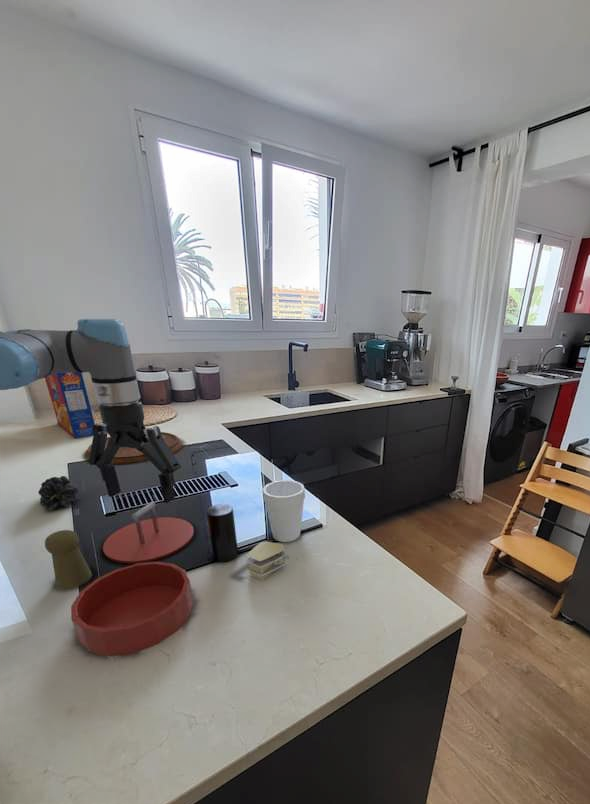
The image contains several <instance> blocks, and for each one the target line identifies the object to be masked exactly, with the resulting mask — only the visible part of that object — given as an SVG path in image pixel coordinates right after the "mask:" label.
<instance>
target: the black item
mask: <svg viewBox="0 0 590 804" xmlns="http://www.w3.org/2000/svg"><path fill="white" fill-rule="evenodd" d="M206 516H207V523H208V531H209V536H210V543H211V550H212V557H213V560H214V561H215V562H218V563H228V562H233V561H234V560H235V559H236V558H238V556H239V549H238V540H237V532H236V524H235V515H234V508H233V506H232V505H230V504H228V503H219V504H215V505H212V506H210V507H209V508H207V509H206Z"/></svg>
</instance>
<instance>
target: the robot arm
mask: <svg viewBox="0 0 590 804" xmlns="http://www.w3.org/2000/svg"><path fill="white" fill-rule="evenodd" d="M76 328H77V329H73V330H72V329H71V330H55V329H54V330H50V329H49V330H47V329H26V328H25V329H17V330H6V331H2V330H0V391H8V390H15V389H19V388H22V387H23V388H24V387H26V386H28V385H30V384H31V383H33V382H35V381H38V380H42V379H45V377H47V376H50V375H53V374H56V373H75V372H80V373H82V374H83V373H89V375H90V379H91V382H92V386H93V390H94V393H95V397H96V401H97V402H98V403H99V406H98V410H99V413H100V418H101V422H98V423H95V425H93V426H92V428H93V434H94V436H92V441H91V444H92V446H91V451H90V456H89V460H88V464H89V465H90V466H96V468H97V469H99V473H100V476H101V479H102V481H103V482H104V484H105V488H106V491H107V495H108V498H109V497H110V498H113V497H115V496H116V495H117V494H120V493H121V492H122V490H121V486H120V482H119V479H118V475H117V471H116V467H115V464H111V461H112V460H113V458H114V456H115V455H116V453H117V451H118V449H119V448H120V447H129V448H136V449H137V450H138V451H141V452H142V453H143V454H144V455H145V456H146V457H147V458H148V459H149V462H150V463H151V464H152V465H153V466H154V467H155V468H156V469H157V470H158V471H159V472H160V474H158V478H159V484H160V489H161V493H162V498H163V503H164V504H168V503H170V502H171V501H173V500H174V499H175V498H176V495H175V490H174V489H175V488H174V487H175V485H176V482H175V475H174V473H175V472H177V471H179V470H180V469H181V467H182V465H181V463H180V462H179V461H178V459H177V458H176V456H175V454H173V453H172V451H171V450H170V448H169V447H168V445H167V443H166V442H165V440H164V439H163V437H162V435H161V432H162V431H161V429H160V427H159V426H158V425H155V426H152V427H146V426H145V423H144V421H145V413H144V408H143V403H142V402H141V401H140V399H141V392H140V389H139V384H138V379H137V375H136V371H135V366H134V361H133V356H132V351H131V350H132V349H131V343H130V342H129V339H128V334H127V330H126V327H125V325H124V323H123V322H122V321H121V320H119V319H117V318H116V319H115V318H80V319H78V320H77V327H76ZM146 435H147V436H146ZM108 436H109V437H111V438H110V439H109V441H108V443H107V447H106V449H105V444H106V440H107V437H108ZM148 438H149V439H148ZM142 442H144V444H142ZM141 444H142V445H141ZM104 449H105V451H104Z"/></svg>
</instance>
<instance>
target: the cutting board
mask: <svg viewBox="0 0 590 804" xmlns="http://www.w3.org/2000/svg"><path fill="white" fill-rule="evenodd" d="M160 432H161V435H162V437H163V439H164V440H165V442H166V443H167V445H168V447H169V448H170V450H171V451H172V453H173V454H174V455H175V454H176V453H178V452H179V451H180V450H182V448H183V442H182V440H181V439H180V438H179V437H178V436H177V435H176V434H174V433H169V432H164V431H160ZM146 436H147V435H146ZM110 438H111V436H107V440H106V444H105V449H106V447H107V443H108V441H109V439H110ZM148 439H149V438H148ZM142 444H144V442H142ZM142 444H141V445H142ZM91 446H92V443H90V445H89V446H88V448H87V450H86V451H85V453H84V455H85V458H86V459H87V460H88V461H89V456H90V451H91ZM105 449H104V451H105ZM147 461H148V462H150V460H149V459H148V458H147V457H146V456H145V455H144V454H143V453H142V452H141V451H138V450H137V449H136V448H129V447H120V448H119V449H118V451H117V453H116V455H115V456H114V458H113V460H112V461H111V464H110V465H124V464H135V463H136V464H137V463H143V462H147Z"/></svg>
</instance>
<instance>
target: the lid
mask: <svg viewBox="0 0 590 804" xmlns="http://www.w3.org/2000/svg"><path fill="white" fill-rule="evenodd" d="M156 507H157V505H156V503H155V502H154V501H150V502H149V503H147V504H146V505H144V506H142V507H141V508H139V509H138V510H137V511H135V512H134V513H132V514H131V518H132V520H134V522H132V523H130V524H127V525H125V526H123V527H121V528H120V529H118V530H116V531H114V532H113V533H112V534H110V535H109V536H108V537H107V538H106V539H105V541H104V543H103V546H102V551H103V554H104V556H105V557H106V558H107V559H108V560H110V561H113V562H115V563H121V564H137V563H147V562H154V561H157V560H160V559H163V558H166V557H168V556H171V555H173V554H175V553H177V552H178V551H180V550H182V549H183V548H185V547H186V546H187V545H188V544H189V543H190V542H191V541H192V539H193V537H194V535H195V530H194V526H193V525H192V524H191V523H190V522H189V521H187V520H186V519H182V518H177V517H171V516H167V517H166V516H163V517H157V514H156V510H155V508H156ZM148 513H150V516H151V518H147V519H143V520H141V518H142V517H144V515H146V514H148Z"/></svg>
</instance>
